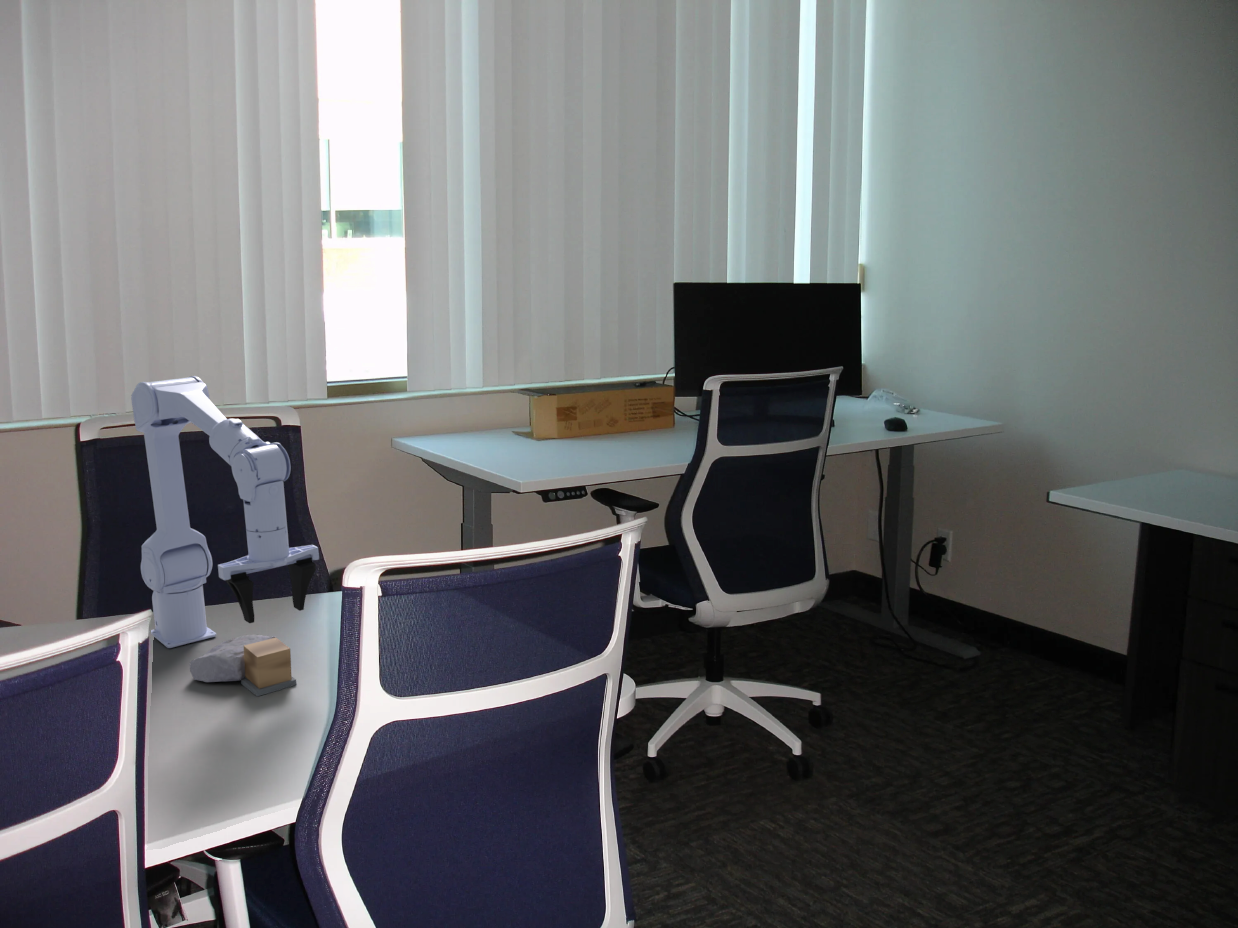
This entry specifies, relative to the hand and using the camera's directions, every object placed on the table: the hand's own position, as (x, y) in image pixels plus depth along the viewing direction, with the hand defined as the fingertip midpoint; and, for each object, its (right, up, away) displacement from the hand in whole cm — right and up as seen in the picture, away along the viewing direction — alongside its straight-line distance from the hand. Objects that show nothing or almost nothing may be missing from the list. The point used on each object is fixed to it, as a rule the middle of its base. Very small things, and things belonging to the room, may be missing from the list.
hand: (274, 614), depth 156 cm
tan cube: (-1, -9, 0) cm, 10 cm away
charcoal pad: (-1, -10, 0) cm, 10 cm away
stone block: (-8, -9, +6) cm, 14 cm away
